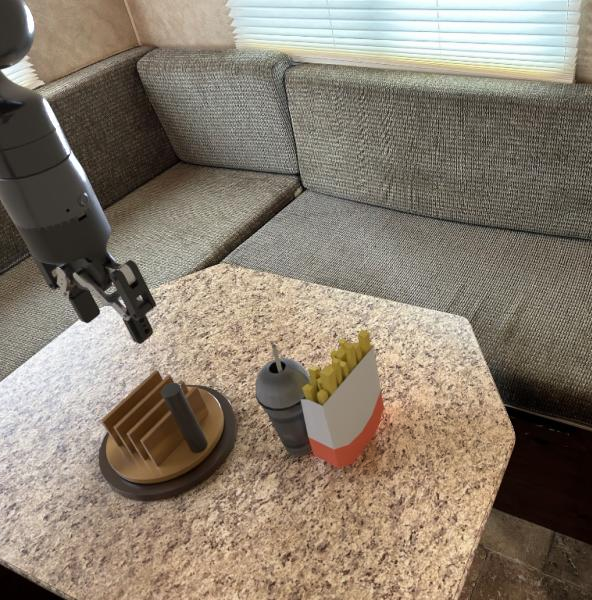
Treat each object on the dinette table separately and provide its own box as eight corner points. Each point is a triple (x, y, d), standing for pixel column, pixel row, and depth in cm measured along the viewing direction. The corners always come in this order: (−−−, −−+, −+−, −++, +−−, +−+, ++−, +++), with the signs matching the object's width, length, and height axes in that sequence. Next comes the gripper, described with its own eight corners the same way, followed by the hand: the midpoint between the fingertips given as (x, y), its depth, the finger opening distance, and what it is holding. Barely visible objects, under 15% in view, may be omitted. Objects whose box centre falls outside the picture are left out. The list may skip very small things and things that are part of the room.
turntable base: (136, 529, 77) (132, 523, 76) (82, 443, 88) (77, 437, 87) (263, 439, 86) (260, 433, 85) (198, 372, 97) (195, 365, 96)
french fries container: (314, 464, 82) (286, 374, 70) (359, 408, 88) (341, 317, 77) (342, 478, 80) (318, 388, 68) (386, 420, 86) (371, 328, 75)
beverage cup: (309, 413, 88) (279, 311, 75) (337, 443, 84) (311, 340, 71) (265, 442, 85) (227, 340, 72) (293, 475, 81) (257, 373, 68)
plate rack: (84, 457, 84) (41, 398, 76) (167, 377, 94) (138, 318, 86) (166, 502, 77) (129, 442, 69) (247, 411, 87) (223, 350, 79)
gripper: (-28, 209, 58) (48, 332, 69) (70, 239, 52) (137, 369, 63) (38, 173, 63) (100, 293, 74) (135, 197, 57) (187, 323, 68)
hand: (117, 328), depth 68 cm, fingers open, 8 cm apart
